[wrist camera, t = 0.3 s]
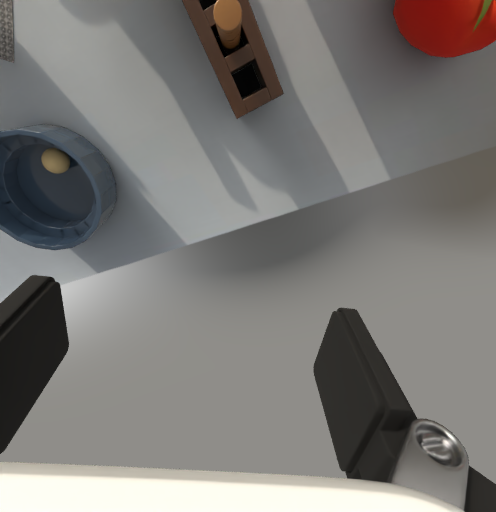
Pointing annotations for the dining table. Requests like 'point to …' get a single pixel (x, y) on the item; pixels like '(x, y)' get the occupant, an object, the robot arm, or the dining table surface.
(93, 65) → the dining table surface
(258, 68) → the rack
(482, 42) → the red bell pepper
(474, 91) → the dining table surface
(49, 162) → the dough ball
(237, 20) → the stick
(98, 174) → the mixing bowl
